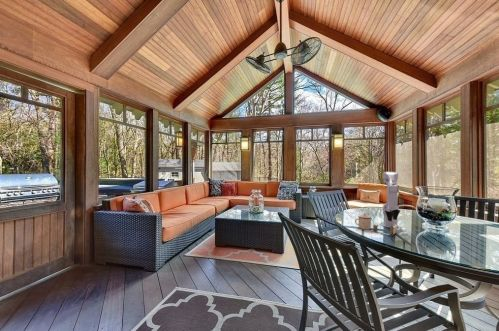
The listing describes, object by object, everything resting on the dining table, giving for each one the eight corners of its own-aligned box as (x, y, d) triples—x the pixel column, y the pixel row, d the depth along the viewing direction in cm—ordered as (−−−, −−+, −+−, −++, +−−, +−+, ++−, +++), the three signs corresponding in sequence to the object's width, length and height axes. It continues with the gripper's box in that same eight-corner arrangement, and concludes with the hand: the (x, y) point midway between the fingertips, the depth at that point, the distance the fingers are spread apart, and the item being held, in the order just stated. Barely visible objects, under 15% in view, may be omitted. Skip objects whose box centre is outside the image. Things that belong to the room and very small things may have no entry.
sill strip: (375, 230, 179) (375, 230, 179) (389, 234, 169) (389, 234, 169) (374, 230, 178) (374, 230, 178) (388, 235, 168) (388, 234, 168)
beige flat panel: (393, 234, 168) (393, 228, 168) (391, 234, 169) (391, 227, 169) (397, 231, 176) (397, 225, 176) (395, 230, 177) (395, 224, 177)
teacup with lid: (367, 226, 191) (367, 211, 190) (373, 229, 181) (373, 214, 181) (352, 226, 191) (352, 211, 190) (357, 229, 182) (357, 214, 181)
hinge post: (391, 235, 169) (391, 225, 168) (394, 236, 167) (394, 226, 167) (389, 235, 168) (389, 226, 168) (392, 236, 166) (392, 226, 166)
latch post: (374, 230, 178) (374, 224, 178) (377, 231, 176) (377, 225, 176) (373, 231, 178) (373, 224, 177) (376, 232, 175) (376, 225, 175)
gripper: (392, 200, 180) (391, 217, 180) (382, 201, 172) (381, 220, 172) (402, 201, 174) (401, 219, 174) (392, 203, 166) (391, 222, 166)
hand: (392, 220), depth 173 cm, fingers open, 7 cm apart
